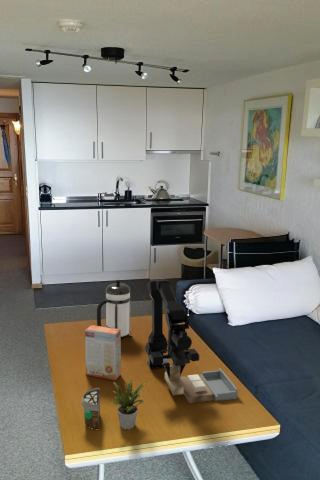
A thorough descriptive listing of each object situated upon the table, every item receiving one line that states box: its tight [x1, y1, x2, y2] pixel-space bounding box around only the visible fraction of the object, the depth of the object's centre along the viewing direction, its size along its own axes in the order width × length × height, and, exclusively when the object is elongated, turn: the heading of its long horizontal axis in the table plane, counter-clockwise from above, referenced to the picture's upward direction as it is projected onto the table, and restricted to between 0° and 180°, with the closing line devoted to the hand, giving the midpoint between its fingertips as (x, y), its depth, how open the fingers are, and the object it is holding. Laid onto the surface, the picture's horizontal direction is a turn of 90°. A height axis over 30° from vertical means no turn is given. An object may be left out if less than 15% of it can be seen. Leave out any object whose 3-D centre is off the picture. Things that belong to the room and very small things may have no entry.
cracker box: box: [84, 324, 122, 381], centre depth 193 cm, size 14×6×21 cm, turn 71°
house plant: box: [110, 378, 148, 430], centre depth 157 cm, size 14×14×16 cm
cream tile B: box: [186, 373, 201, 385], centre depth 186 cm, size 4×4×2 cm
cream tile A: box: [191, 381, 206, 392], centre depth 181 cm, size 4×4×2 cm
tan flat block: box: [180, 374, 215, 404], centre depth 183 cm, size 10×16×2 cm, turn 15°
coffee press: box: [96, 279, 133, 338], centre depth 232 cm, size 17×16×30 cm
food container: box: [80, 387, 101, 430], centre depth 161 cm, size 12×6×10 cm, turn 5°
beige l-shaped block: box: [164, 362, 184, 396], centre depth 180 cm, size 4×13×9 cm, turn 15°
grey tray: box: [199, 367, 239, 402], centre depth 186 cm, size 9×18×4 cm, turn 15°
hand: (174, 376), depth 180 cm, fingers closed on beige l-shaped block, 4 cm apart
